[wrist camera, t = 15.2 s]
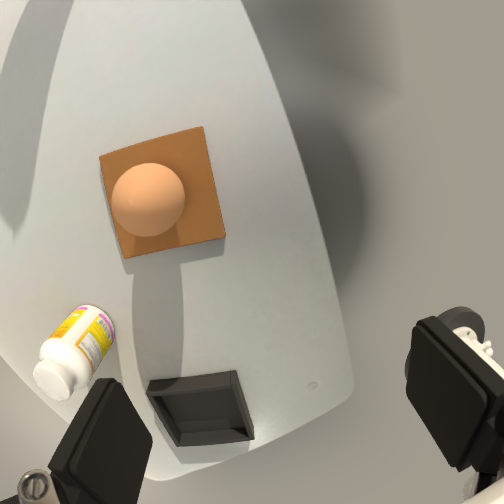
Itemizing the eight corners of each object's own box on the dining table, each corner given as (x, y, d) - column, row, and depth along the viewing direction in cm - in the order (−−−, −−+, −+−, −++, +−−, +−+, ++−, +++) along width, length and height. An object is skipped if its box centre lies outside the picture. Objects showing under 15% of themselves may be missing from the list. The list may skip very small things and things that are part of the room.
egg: (123, 215, 31) (86, 232, 22) (141, 155, 29) (107, 152, 20) (179, 234, 32) (159, 260, 23) (199, 174, 30) (185, 177, 21)
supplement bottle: (70, 331, 35) (24, 386, 23) (78, 294, 34) (25, 346, 21) (110, 354, 36) (74, 417, 24) (121, 318, 35) (81, 380, 22)
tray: (235, 370, 37) (235, 383, 35) (253, 426, 41) (254, 439, 38) (150, 380, 38) (145, 393, 35) (178, 434, 41) (176, 446, 38)
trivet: (202, 126, 29) (202, 126, 29) (225, 235, 32) (225, 236, 32) (100, 156, 29) (98, 156, 29) (125, 257, 33) (123, 259, 32)
